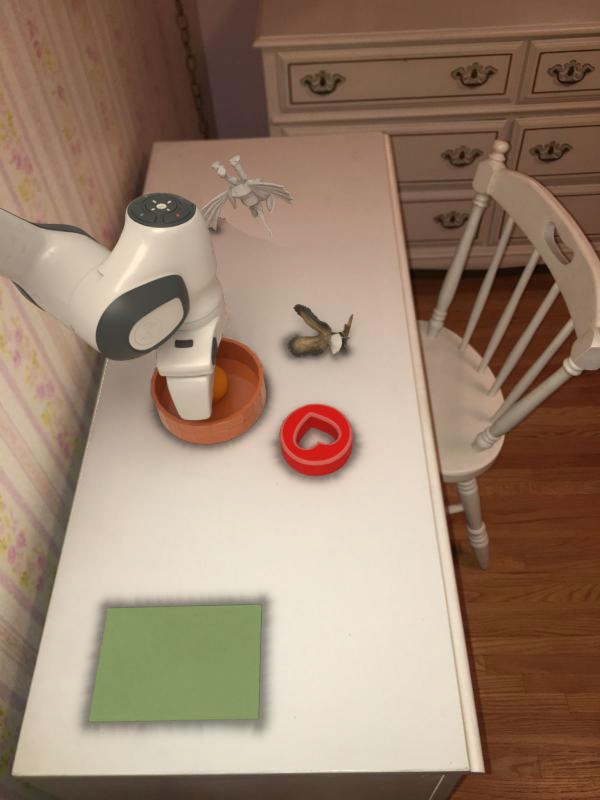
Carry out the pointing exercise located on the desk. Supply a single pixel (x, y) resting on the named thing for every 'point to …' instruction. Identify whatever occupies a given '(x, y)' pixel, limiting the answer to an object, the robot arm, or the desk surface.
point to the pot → (231, 410)
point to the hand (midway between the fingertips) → (209, 381)
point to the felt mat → (179, 664)
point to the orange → (219, 384)
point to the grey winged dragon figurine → (243, 194)
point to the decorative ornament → (321, 455)
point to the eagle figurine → (323, 340)
